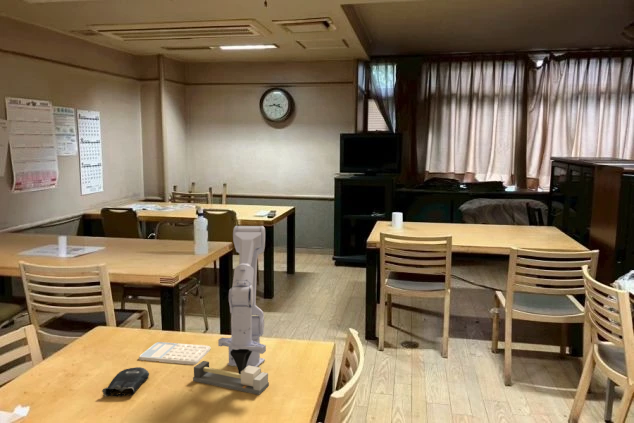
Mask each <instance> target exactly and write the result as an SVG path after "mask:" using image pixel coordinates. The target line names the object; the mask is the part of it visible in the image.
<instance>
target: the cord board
mask: <svg viewBox="0 0 634 423" xmlns="http://www.w3.org/2000/svg"><path fill="white" fill-rule="evenodd" d="M192 381H193V382H197V383H202V384H206V385H212V386H215V387H220V388H226V389H229V390H235V391H237V392H244V393H249V394H252V395H253V394H254V395H258V396H260V395H261V393H262V392H264V391H265V390H266V389H267V388H268V387H269V386H270V383H269V373H268V372H264V371H261V373H260V374H259V375H258V376H257V377H255V378H254V379H253V387H252V386H247V385H242V384H241V374H239V372H235V371H230V370H229V371H228V370H224V369H218V368H214V367H210V361H207V360H203V361H201V362H198V363H197V364H195V366H193V377H192Z"/></svg>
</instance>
